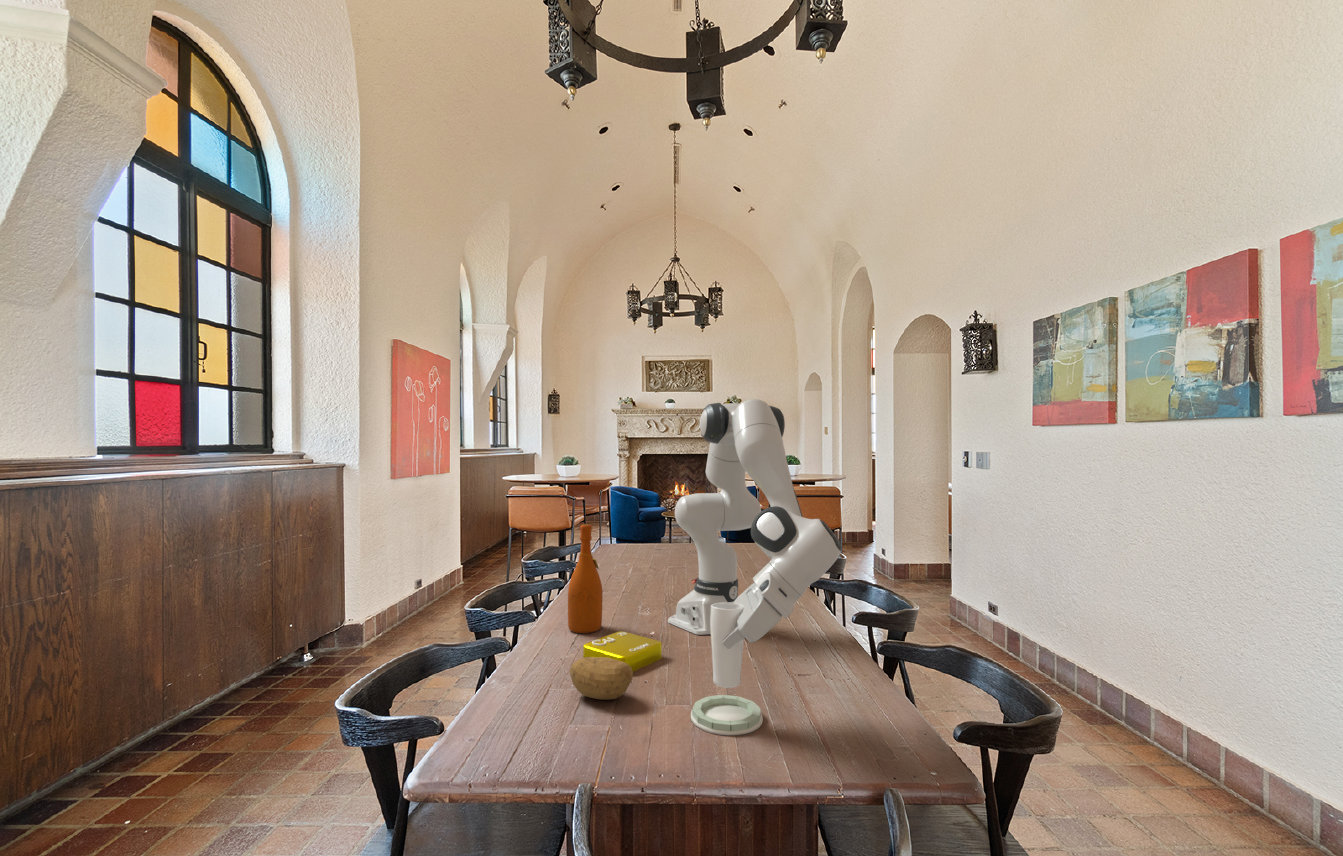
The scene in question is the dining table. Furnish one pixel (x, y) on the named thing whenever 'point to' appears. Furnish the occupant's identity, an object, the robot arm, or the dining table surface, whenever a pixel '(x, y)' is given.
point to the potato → (601, 677)
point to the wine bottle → (585, 590)
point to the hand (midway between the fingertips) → (724, 638)
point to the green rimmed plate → (726, 715)
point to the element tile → (625, 649)
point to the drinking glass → (723, 658)
